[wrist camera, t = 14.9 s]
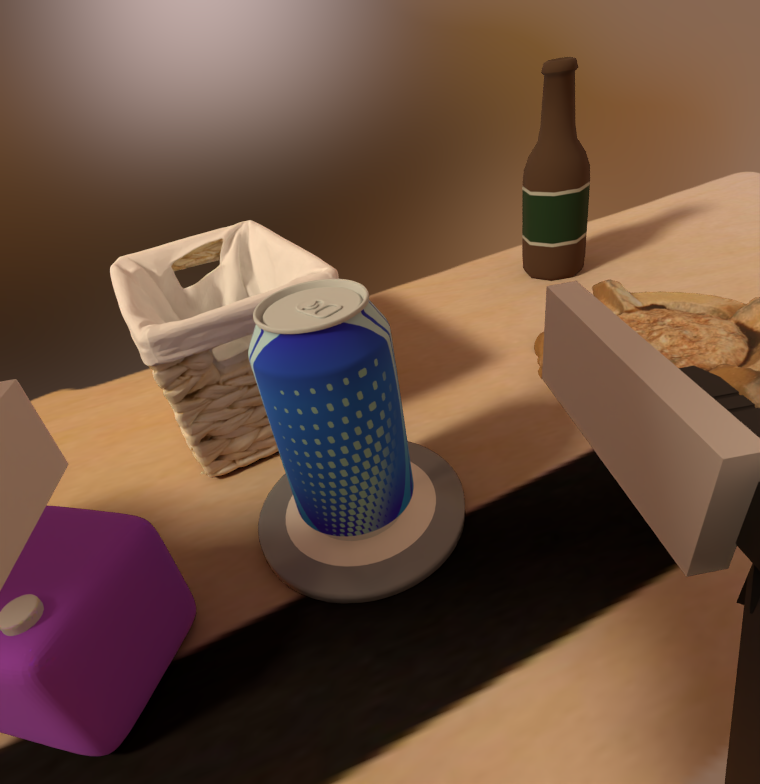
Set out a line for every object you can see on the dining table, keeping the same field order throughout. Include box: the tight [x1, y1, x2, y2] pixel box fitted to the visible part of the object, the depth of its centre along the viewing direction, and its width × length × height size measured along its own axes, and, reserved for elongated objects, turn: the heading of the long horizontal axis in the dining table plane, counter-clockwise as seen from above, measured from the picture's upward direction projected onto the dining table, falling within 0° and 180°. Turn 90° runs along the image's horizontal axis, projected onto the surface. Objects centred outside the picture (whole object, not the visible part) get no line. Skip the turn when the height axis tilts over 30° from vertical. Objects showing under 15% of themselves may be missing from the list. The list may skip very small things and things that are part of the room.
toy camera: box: [0, 506, 196, 756], centre depth 30 cm, size 11×14×10 cm
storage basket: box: [110, 220, 339, 477], centre depth 51 cm, size 24×16×15 cm
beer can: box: [248, 279, 414, 541], centre depth 34 cm, size 8×8×16 cm
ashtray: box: [534, 280, 760, 408], centre depth 49 cm, size 24×24×5 cm
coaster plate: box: [258, 441, 465, 604], centre depth 39 cm, size 15×15×1 cm
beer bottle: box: [523, 57, 590, 281], centre depth 64 cm, size 8×8×24 cm
